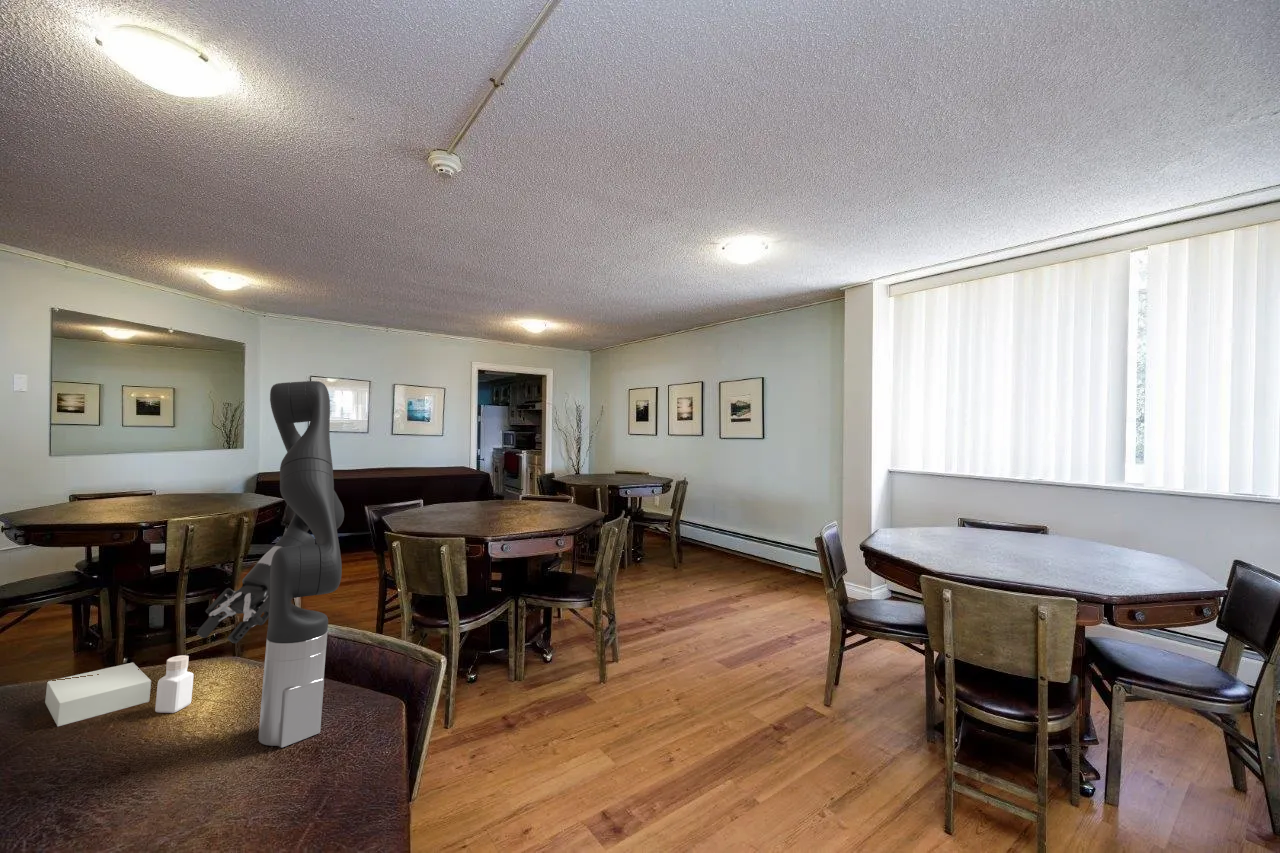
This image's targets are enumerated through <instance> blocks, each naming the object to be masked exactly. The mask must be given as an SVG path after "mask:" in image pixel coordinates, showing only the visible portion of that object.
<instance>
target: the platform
mask: <svg viewBox="0 0 1280 853" xmlns="http://www.w3.org/2000/svg"><path fill="white" fill-rule="evenodd" d="M138 669H139V670H138ZM97 674H99V675H97ZM87 675H93V676H87ZM80 676H86V677H80ZM72 677H79V678H72ZM65 678H71V679H65ZM57 679H58V678H57ZM57 679H55V680H56V681H52V680H48V682H47V681H46V682H47V683H46V691H45V692H46V693H45V699H44V703H45V705H46V708H47V709H48V711H49V713H50V715H51V717H52V719H53V720H54V723H55V724H56V727H61V726H65V725H68V724H73V723H75V722H79V721H83V720H88V719H91V718H94V717H98V716H101V715H105V714H109V713H112V712H116V711H120V710H123V709H127V708H131V707H134V706H138V705H141V704H144V703H149V702H150V698H151V697H150V696H151V687H152V686H151V685H152V680H151V679H150V678H149V677H148V676H147V674H145V673H144V672H143V671H142V670H141V669H140V668H139V667H138V666H137V665H136V664H135V662H130V663H124V664H120V665H116V666H115V665H114V666H111V667H105V668H101V669H97V670H93V671H89V672H83V673H80V674H79V673H78V674H75V675H74V674H73V675H71V676H64V677H61V678H60V679H65V680H57Z"/></svg>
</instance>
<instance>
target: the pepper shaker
mask: <svg viewBox="0 0 1280 853" xmlns="http://www.w3.org/2000/svg"><path fill="white" fill-rule="evenodd" d="M189 657H190V656H189V655H185V654H184V655H176V656H172V657H169V658H168V659H166V668H165V670H166V672H165V675H163V677H161V678H159V680H158V682H157V686H156V687H157V688H156V696H155V697H156V698H155V707H154V708H155V709H154V710H155V712H156V713H165V714H166V713H168V714H169V713H170V714H174V713H176V712H179V711H180V710H182V709H184V708H186V707H188V706H190V704H191V703H192V699H193V698H192V697H193V687H194V678H195V677H194V676H195V675H194V673H193V672H191V671H188V667H189V660H190V659H189Z"/></svg>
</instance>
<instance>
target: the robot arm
mask: <svg viewBox="0 0 1280 853" xmlns="http://www.w3.org/2000/svg"><path fill="white" fill-rule="evenodd" d="M269 402H270V408H271V412H272V415H273V418H274V421H275V424H276V426H277V430H278V432H279V434H280V438H281V440H282V443H283V446H284V448H285V450H286V454H285V455H284V457H283V458H282V460H281V462H280V467H279V491H280V495H281V497H282V498H283V500H284V501H285V503H286V504H287V506H289V507H290V509H291V510H292V511H293V512H294V514H293V517H292V519H291V520H290V523H289V525H288V527H287V529H286V530H285V533H284V534H283V535H282V536H281V537H280V538H279V540H278V541H277V542H276V543H275V544H274V545H273V546H272V547H271V549H269V550H268V551H267V552H266V553H264V555H262V557H261V558H260V559H259V560H258V561H257V563H256V564H255V565H254V566H253V567H252V568H251V569H250V570H249V572H248V573H247V574H246V575H245V576H244V577H243V579H242V580H241V581H242V585H241V586H240V588H239V589H237V590H236V591H235V590H233V589H231V588H230V587H227V588H225V589H224V590H223V591H222V593H221V594H220V595H219V596H218V597H217V598H216V599H214V601H213V602H212V603H211V604H210V605H209V606H208V607H207V608H206V609H205V611H204V612H205V613H206V614H207V615H208V618H207V619H206V620H205V621H204V622H203V623H202V625H201V626H200V627H199V628H198V630H197V631H196V635H198V636H199V637H201V638H204V639H206V638H208V637H209V635H210V634H211V633H212V632H213V631H214V630H215V629H216V628H217V627H218V625H219V624H220V623H221V621H223V620H224V619H226V618H227V617H233V616H235V615H236V614H243V619H242V621H240V622H239V623H238V625H236V627H235V628H234V629H233V630H232V632H230V634H229V635H228V636H227V640H228V641H229V642H230V643H232V644H238V643H239V642H240V641H241V640H242V639H243V638H244V637H245V635H247V633H248V631H250V629H251V628H253V627H255V626H257V625H259V626H263V625H264V624H265V623H266V622H267V620H268V622H267V623H268V624H267V631H266V632H267V633H266V643H265V655H264V664H263V665H264V668H263V677H262V690H261V702H260V713H259V714H260V716H259V717H260V718H259V726H258V727H259V728H258V729H259V730H258V738H257V739H258V741H259V743H260V744H262V745H265V746H271V747H273V746H275V747H276V746H277V747H279V748H284V747H285V748H286V747H287V746H289V745H292V744H295V743H298V742H300V741H303V740H305V739H308V738H310V737H312V736H315V735H317V734H320V733H321V727H322V712H323V700H324V699H323V698H324V689H325V688H324V685H325V668H326V666H325V665H326V654H327V643H328V641H327V640H328V628H329V618H328V616H327V615H326V613H323V612H320V611H317V610H312V609H311V610H310V609H306V608H303V607H300V606H297V605H295V604H293V603H292V599H294V598H296V599H297V598H303V597H312V596H320V595H326V594H327V595H328V594H330V593H331V594H332V593H333V592H336V590H338V588H339V587H340V584H341V581H342V572H343V571H342V569H343V567H342V566H343V565H342V557H341V554H342V553H341V549H340V543H339V534H338V530H339V528H340V527H341V526H342V524H343V522H344V518H345V510H344V507H343V506H344V505H343V504H342V501H341V500H340V498H339V496H338V494H337V492H336V491H335V482H334V469H333V467H334V466H333V459H332V451H331V450H332V449H331V439H330V435H331V434H330V433H331V432H330V431H331V430H330V429H331V428H330V427H331V426H330V424H331V421H330V420H331V400H330V394H329V390H328V388H327V386H326V385H325V383H324V382H323V381H318V380H306V381H304V380H303V381H293V382H292V381H289V382H280V383H275V384H273V385H272V386H271V388H270V393H269ZM308 422H309V424H308V426H307V428H306V430H305V431H304V433H303V434H302V435H301V434H300V433H299V431H298V430H297V428H296V426H295V425H296V424H300V423H308ZM295 423H296V424H295ZM309 530H310V531H311V533H312V534H310V533H309V532H308V531H309ZM217 606H218V607H217ZM229 606H230V607H229ZM215 608H216V609H215ZM262 614H263V615H262Z"/></svg>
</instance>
